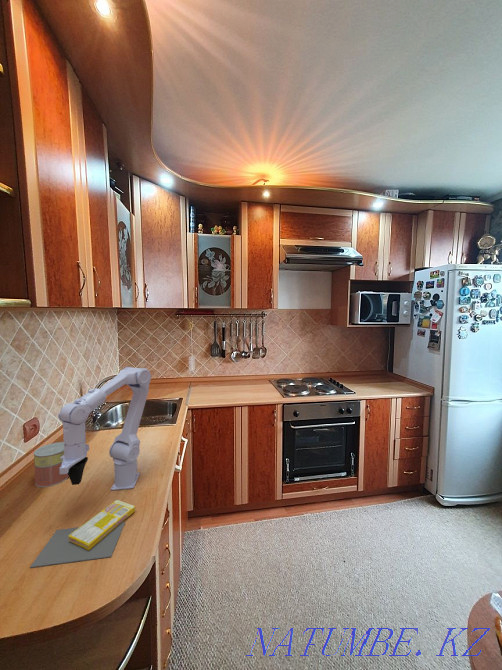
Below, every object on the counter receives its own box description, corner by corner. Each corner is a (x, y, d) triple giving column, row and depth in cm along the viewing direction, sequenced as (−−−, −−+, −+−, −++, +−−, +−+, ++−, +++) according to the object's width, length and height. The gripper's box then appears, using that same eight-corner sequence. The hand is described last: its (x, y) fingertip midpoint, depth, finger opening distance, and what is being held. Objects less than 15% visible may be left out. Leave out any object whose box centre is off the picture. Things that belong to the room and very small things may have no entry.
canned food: (61, 467, 112) (60, 439, 111) (76, 474, 107) (75, 445, 106) (29, 481, 102) (27, 451, 101) (44, 490, 97) (42, 458, 96)
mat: (56, 530, 78) (56, 529, 78) (125, 522, 81) (125, 521, 81) (29, 568, 66) (29, 567, 66) (111, 557, 69) (111, 556, 69)
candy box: (68, 542, 74) (88, 551, 71) (67, 535, 74) (88, 543, 71) (117, 505, 89) (136, 511, 86) (116, 498, 89) (135, 504, 86)
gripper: (72, 432, 90) (74, 471, 91) (46, 454, 76) (49, 500, 76) (95, 431, 91) (96, 469, 92) (74, 452, 77) (75, 497, 77)
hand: (76, 483), depth 84 cm, fingers closed
